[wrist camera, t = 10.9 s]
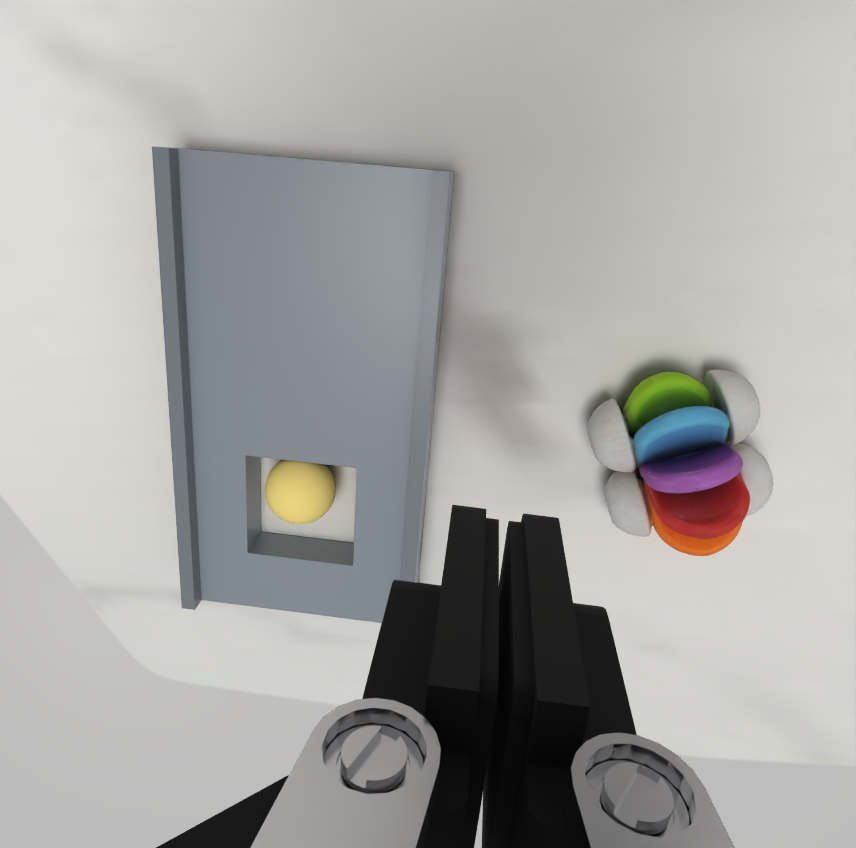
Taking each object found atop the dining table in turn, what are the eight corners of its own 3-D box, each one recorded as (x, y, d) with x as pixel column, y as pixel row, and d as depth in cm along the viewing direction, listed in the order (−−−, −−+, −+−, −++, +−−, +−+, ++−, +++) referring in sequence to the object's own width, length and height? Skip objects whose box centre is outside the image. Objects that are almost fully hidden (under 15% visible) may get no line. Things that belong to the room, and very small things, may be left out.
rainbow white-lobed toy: (612, 531, 40) (636, 604, 33) (574, 382, 37) (591, 429, 30) (760, 498, 39) (816, 568, 32) (733, 340, 36) (788, 380, 29)
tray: (184, 148, 35) (151, 146, 31) (454, 171, 34) (449, 171, 31) (205, 575, 44) (181, 608, 41) (416, 602, 43) (410, 637, 40)
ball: (279, 451, 41) (260, 450, 37) (344, 458, 41) (331, 457, 37) (272, 517, 41) (251, 523, 37) (337, 524, 41) (323, 531, 37)
